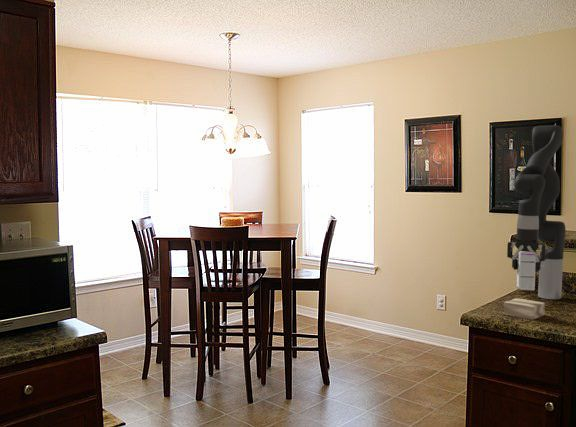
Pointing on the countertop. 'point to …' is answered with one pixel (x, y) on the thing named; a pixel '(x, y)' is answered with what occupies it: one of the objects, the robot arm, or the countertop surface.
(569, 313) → the countertop surface
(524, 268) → the syrup box
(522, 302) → the maple block
